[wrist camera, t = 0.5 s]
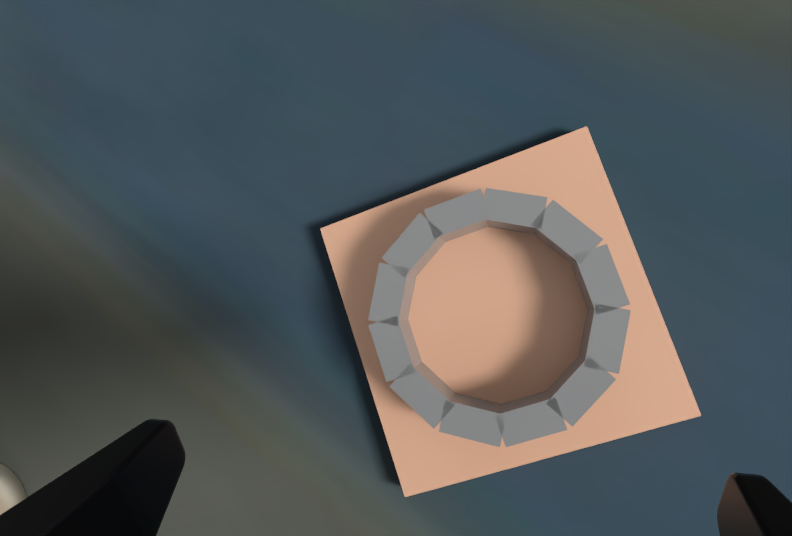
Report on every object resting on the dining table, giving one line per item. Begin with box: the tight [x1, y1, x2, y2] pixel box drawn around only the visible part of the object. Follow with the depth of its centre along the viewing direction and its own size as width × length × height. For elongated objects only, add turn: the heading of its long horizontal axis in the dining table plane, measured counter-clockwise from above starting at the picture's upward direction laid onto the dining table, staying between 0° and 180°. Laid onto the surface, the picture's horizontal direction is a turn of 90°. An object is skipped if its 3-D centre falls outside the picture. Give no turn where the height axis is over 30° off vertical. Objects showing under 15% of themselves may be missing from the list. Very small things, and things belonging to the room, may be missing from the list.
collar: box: [320, 126, 701, 497], centre depth 22 cm, size 12×12×3 cm
